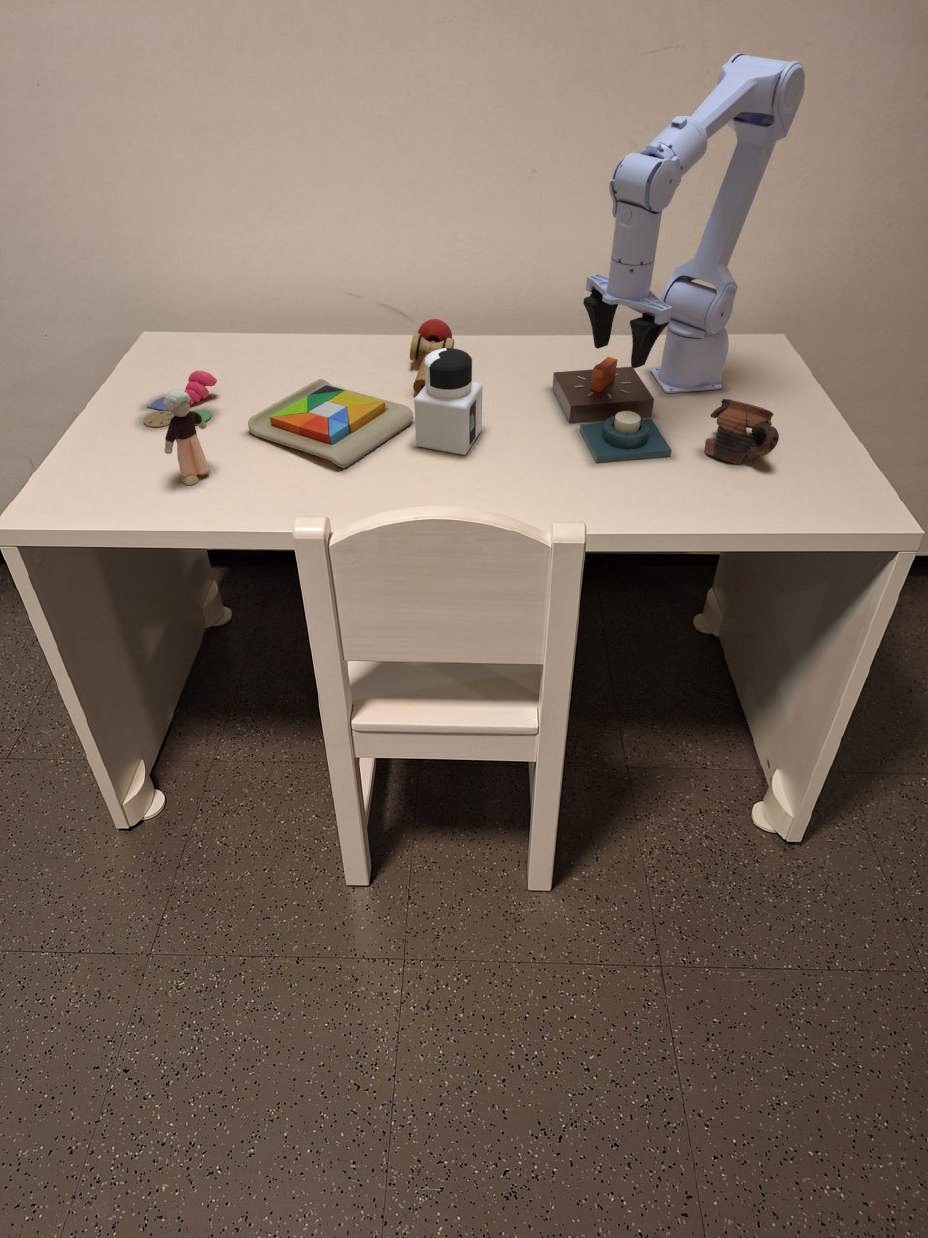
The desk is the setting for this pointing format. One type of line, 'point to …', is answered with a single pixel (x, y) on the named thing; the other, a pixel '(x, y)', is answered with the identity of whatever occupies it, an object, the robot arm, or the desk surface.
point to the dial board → (601, 395)
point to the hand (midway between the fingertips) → (619, 355)
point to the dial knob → (603, 374)
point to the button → (627, 422)
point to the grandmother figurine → (185, 437)
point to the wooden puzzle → (331, 422)
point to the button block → (624, 442)
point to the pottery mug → (741, 432)
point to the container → (448, 403)
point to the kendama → (429, 345)
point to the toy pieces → (195, 392)
